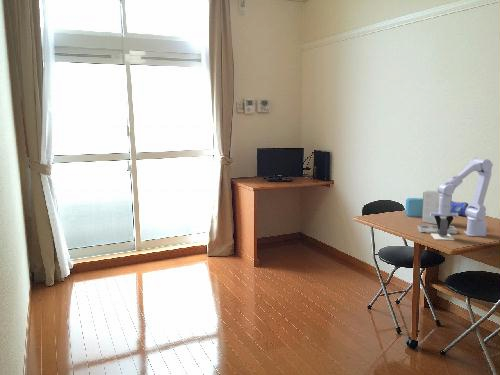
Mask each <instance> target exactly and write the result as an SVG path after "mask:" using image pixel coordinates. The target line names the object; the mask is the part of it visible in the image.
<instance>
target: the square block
mask: <svg viewBox="0 0 500 375" xmlns="http://www.w3.org/2000/svg"><path fill="white" fill-rule="evenodd" d="M447 228H448V220H447V219H446V218H441V221H440V229H438V233H437V234H439V235H443V236H447V234H448V233H447Z"/></svg>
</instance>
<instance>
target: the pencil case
mask: <svg viewBox="0 0 500 375" xmlns="http://www.w3.org/2000/svg"><path fill="white" fill-rule="evenodd" d="M469 204H470V203H468V202H465V201H464V202H462V201H461V202H458V201H453V200H452V201H451V213H458V216H464V217H467V216H466V214H465V210H466V209H467V207H468V205H469Z"/></svg>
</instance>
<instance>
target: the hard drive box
mask: <svg viewBox="0 0 500 375" xmlns="http://www.w3.org/2000/svg"><path fill="white" fill-rule="evenodd" d="M452 197H453V194H452V195H451V201H453V200H452ZM422 198H423V208H422V216H421V222H422V223H425V222H426V223H427V224H432V225H437V222H436V220H435V217H434V216H430V212H439V198H440V196H439V192H438V190H425V191H423V193H422ZM450 213H451V202H450ZM440 218H446V217H443V216H440Z"/></svg>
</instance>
